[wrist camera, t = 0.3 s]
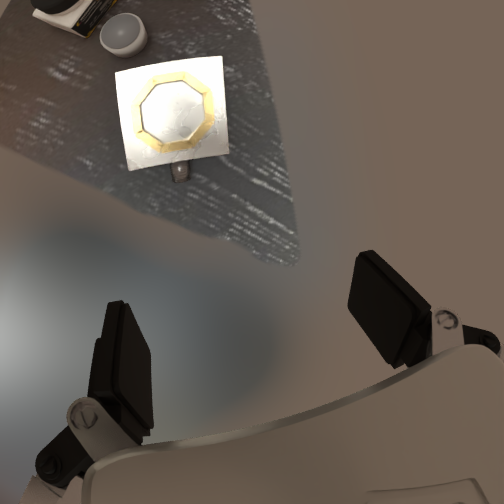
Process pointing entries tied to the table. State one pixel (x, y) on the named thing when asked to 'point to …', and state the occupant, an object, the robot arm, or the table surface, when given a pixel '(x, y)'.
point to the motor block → (173, 113)
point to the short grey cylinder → (124, 35)
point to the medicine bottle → (72, 14)
